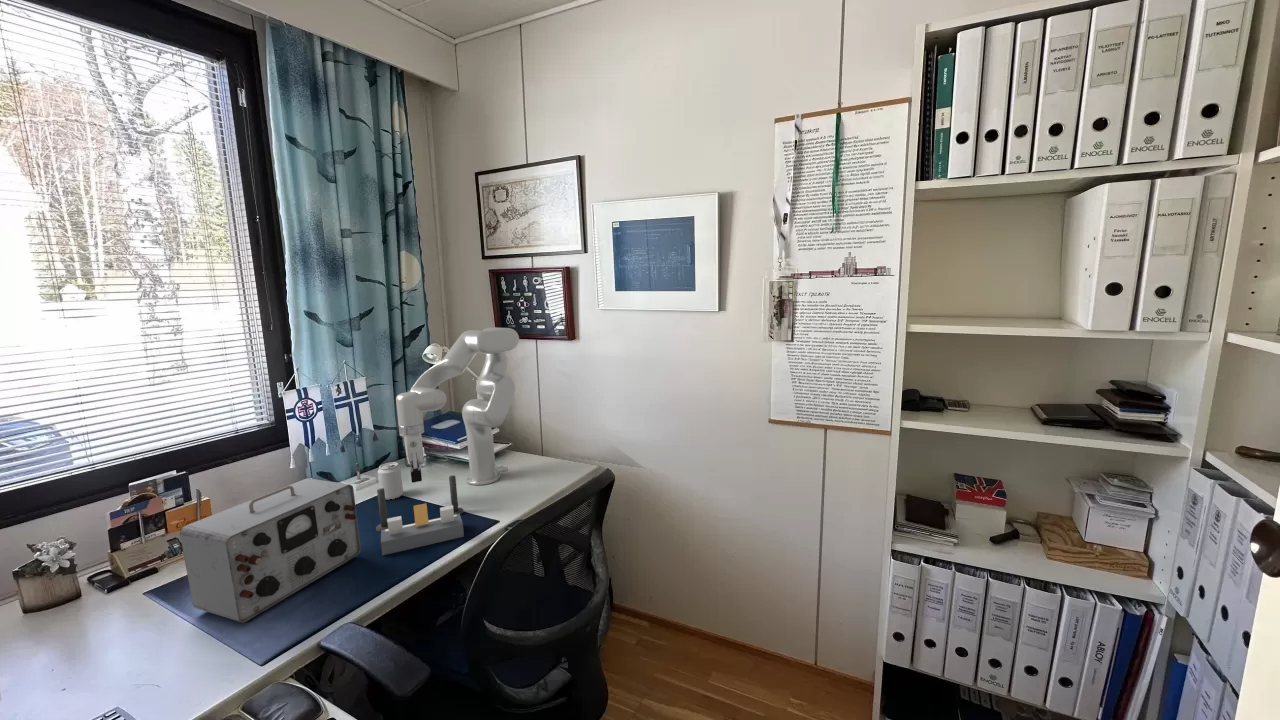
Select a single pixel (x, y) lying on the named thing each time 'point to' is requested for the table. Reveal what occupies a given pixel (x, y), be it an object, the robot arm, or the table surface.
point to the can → (390, 480)
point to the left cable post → (382, 510)
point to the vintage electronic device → (269, 547)
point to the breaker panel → (421, 535)
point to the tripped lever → (421, 514)
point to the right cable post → (454, 495)
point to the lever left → (395, 525)
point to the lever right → (447, 514)
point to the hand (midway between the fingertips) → (416, 480)
